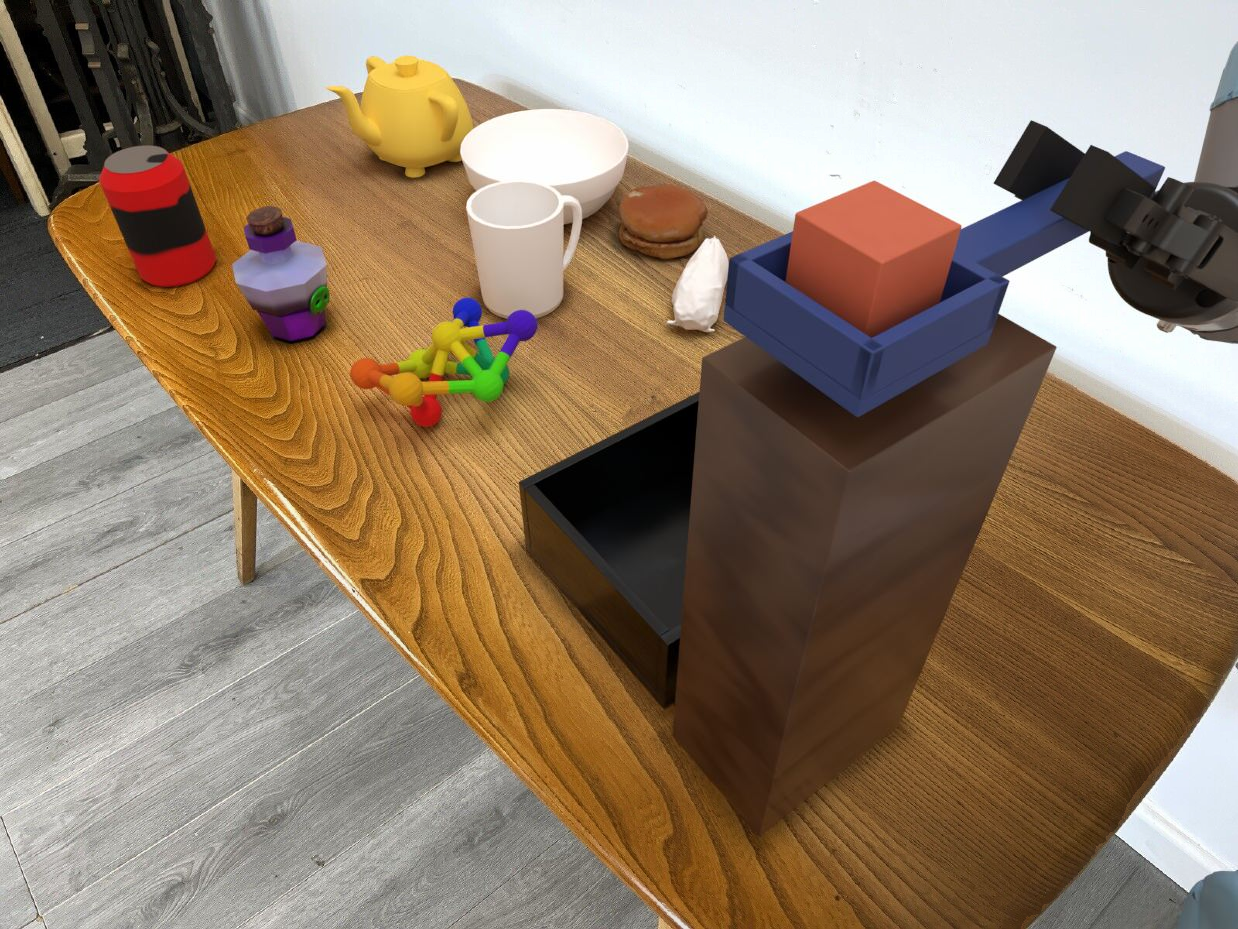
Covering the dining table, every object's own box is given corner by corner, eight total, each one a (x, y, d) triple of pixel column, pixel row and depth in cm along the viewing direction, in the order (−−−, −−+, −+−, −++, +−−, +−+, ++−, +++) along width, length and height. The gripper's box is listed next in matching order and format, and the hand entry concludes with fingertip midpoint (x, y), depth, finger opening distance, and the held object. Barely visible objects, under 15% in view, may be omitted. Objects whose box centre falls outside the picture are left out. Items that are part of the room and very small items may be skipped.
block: (935, 321, 34) (963, 224, 31) (859, 361, 32) (882, 263, 29) (854, 273, 36) (874, 179, 33) (780, 308, 35) (794, 212, 32)
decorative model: (328, 353, 79) (470, 258, 82) (381, 428, 84) (512, 335, 88) (379, 405, 69) (537, 295, 72) (435, 486, 74) (579, 380, 78)
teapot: (370, 132, 118) (351, 36, 110) (482, 132, 118) (471, 36, 110) (346, 184, 108) (323, 83, 100) (468, 185, 108) (455, 83, 100)
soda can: (207, 286, 93) (166, 176, 85) (131, 290, 93) (82, 179, 84) (224, 246, 99) (186, 139, 90) (151, 250, 98) (107, 142, 90)
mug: (495, 333, 88) (483, 237, 80) (466, 284, 93) (453, 191, 86) (601, 305, 91) (599, 211, 84) (567, 260, 97) (563, 168, 89)
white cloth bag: (672, 291, 95) (662, 328, 86) (690, 228, 91) (681, 260, 83) (719, 304, 95) (713, 342, 86) (738, 241, 91) (735, 274, 83)
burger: (697, 266, 96) (700, 225, 92) (610, 256, 97) (609, 216, 94) (710, 218, 103) (713, 179, 99) (628, 210, 104) (629, 171, 101)
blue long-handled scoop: (1204, 221, 41) (1234, 161, 39) (857, 418, 31) (873, 352, 29) (1066, 162, 45) (1087, 105, 43) (722, 321, 35) (728, 257, 33)
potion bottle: (332, 354, 85) (301, 239, 77) (239, 353, 85) (198, 239, 77) (352, 300, 91) (325, 189, 83) (265, 300, 92) (229, 188, 83)
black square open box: (845, 587, 66) (864, 519, 61) (664, 710, 59) (668, 645, 54) (697, 457, 76) (702, 389, 70) (525, 550, 69) (518, 481, 63)
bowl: (514, 266, 96) (507, 203, 91) (441, 193, 107) (432, 132, 102) (659, 218, 103) (661, 156, 98) (577, 153, 114) (575, 95, 109)
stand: (899, 726, 58) (1057, 346, 37) (758, 837, 53) (849, 471, 32) (809, 640, 63) (904, 259, 42) (672, 735, 58) (701, 357, 37)
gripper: (1282, 382, 51) (1165, 343, 34) (1046, 262, 59) (859, 183, 42) (1381, 257, 48) (1308, 146, 31) (1118, 150, 56) (948, 17, 39)
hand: (1048, 168), depth 37 cm, fingers closed on blue long-handled scoop, 2 cm apart
